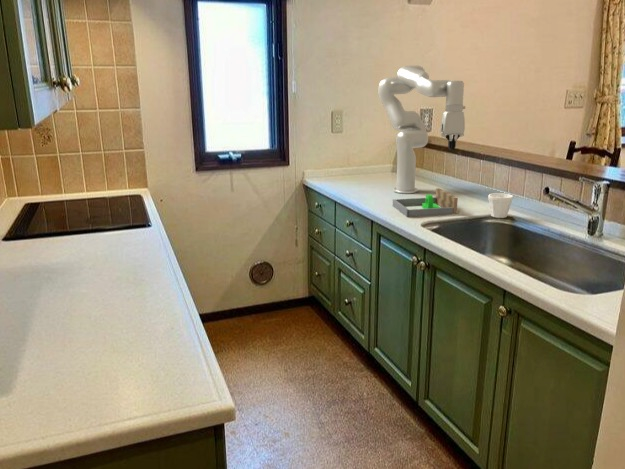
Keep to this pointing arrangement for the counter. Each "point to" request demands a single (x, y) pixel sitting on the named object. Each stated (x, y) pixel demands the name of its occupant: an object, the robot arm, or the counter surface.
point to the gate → (446, 200)
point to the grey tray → (401, 204)
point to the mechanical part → (429, 203)
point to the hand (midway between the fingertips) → (451, 149)
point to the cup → (499, 204)
